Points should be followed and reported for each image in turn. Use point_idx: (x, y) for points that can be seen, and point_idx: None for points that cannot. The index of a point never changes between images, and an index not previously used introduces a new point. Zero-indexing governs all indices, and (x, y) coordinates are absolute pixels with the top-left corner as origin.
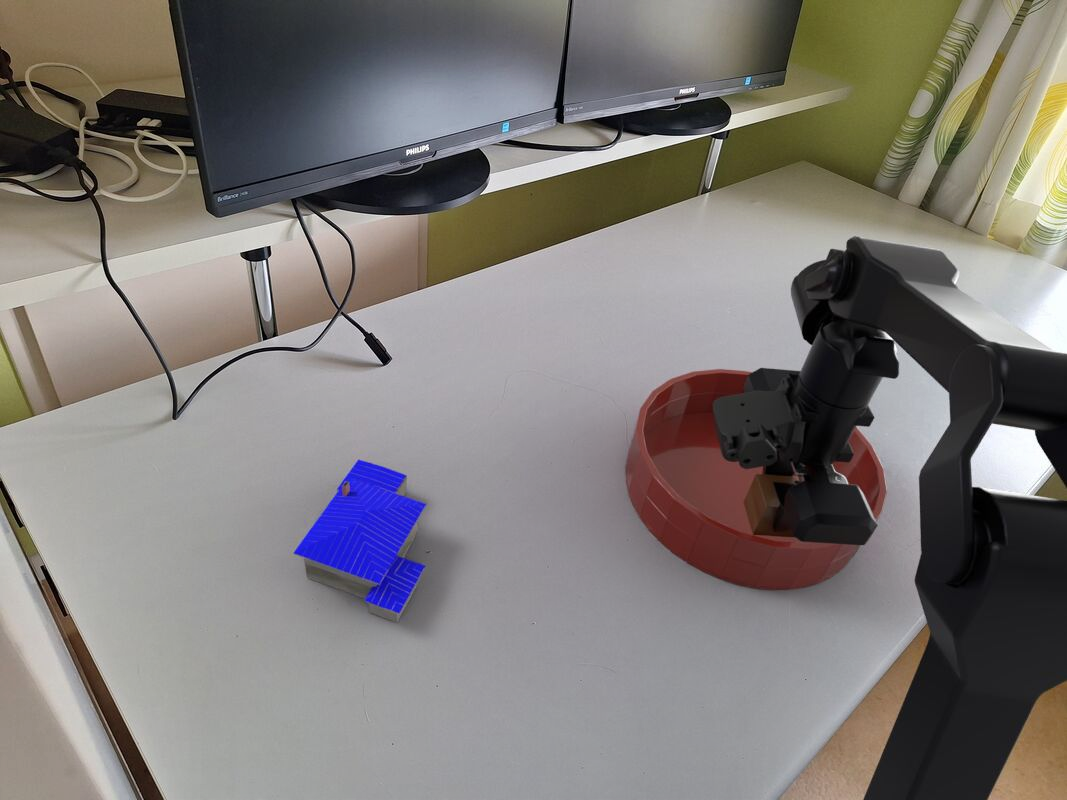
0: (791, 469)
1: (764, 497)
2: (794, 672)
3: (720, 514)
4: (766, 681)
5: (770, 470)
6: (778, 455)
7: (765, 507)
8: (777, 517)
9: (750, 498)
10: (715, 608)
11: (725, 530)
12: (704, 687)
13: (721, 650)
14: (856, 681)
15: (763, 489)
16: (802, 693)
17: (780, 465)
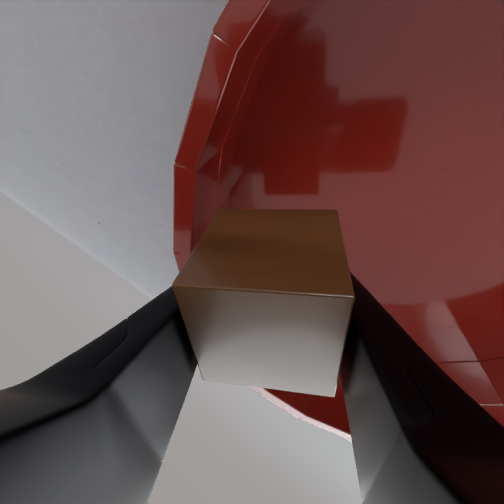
0: (350, 409)
1: (214, 291)
2: (101, 212)
3: (393, 156)
4: (70, 170)
5: (358, 352)
6: (389, 453)
7: (176, 279)
8: (173, 296)
9: (307, 234)
10: (162, 106)
11: (188, 123)
12: (3, 58)
13: (85, 104)
14: (122, 274)
15: (260, 298)
16: (78, 213)
17: (362, 401)
